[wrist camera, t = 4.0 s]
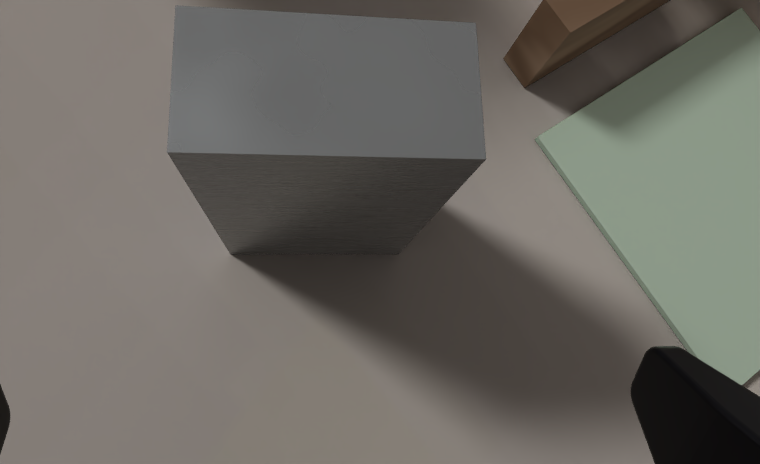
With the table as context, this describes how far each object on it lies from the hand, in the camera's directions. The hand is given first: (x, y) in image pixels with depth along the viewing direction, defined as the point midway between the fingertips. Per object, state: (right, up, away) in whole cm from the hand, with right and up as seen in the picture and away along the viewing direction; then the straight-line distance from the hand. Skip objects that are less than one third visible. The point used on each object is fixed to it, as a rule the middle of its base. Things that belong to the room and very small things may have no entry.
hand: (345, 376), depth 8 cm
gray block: (-2, +5, +13) cm, 14 cm away
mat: (+15, +4, +15) cm, 22 cm away
